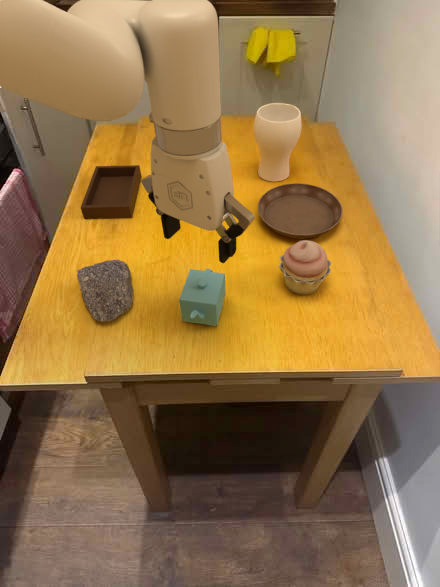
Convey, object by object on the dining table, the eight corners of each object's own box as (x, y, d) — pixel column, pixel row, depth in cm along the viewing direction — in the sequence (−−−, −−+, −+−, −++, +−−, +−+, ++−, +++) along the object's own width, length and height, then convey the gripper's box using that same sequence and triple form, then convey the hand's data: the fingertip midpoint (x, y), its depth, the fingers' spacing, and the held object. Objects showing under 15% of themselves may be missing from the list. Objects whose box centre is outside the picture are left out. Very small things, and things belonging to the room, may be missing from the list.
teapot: (212, 345, 67) (211, 317, 61) (177, 340, 67) (172, 311, 62) (227, 292, 74) (226, 262, 69) (194, 287, 75) (191, 258, 70)
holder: (132, 218, 90) (129, 206, 87) (84, 219, 90) (80, 207, 88) (141, 176, 101) (139, 165, 98) (99, 177, 101) (95, 166, 99)
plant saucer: (299, 257, 80) (301, 246, 78) (240, 215, 89) (240, 204, 87) (357, 221, 87) (360, 209, 85) (297, 185, 96) (298, 174, 94)
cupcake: (285, 259, 80) (291, 218, 72) (332, 273, 77) (343, 232, 69) (268, 292, 74) (272, 251, 67) (318, 308, 71) (328, 267, 64)
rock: (67, 271, 72) (118, 247, 75) (78, 289, 77) (126, 265, 79) (88, 318, 66) (144, 290, 68) (100, 335, 70) (151, 308, 73)
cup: (292, 160, 104) (299, 100, 93) (298, 184, 97) (307, 122, 85) (250, 162, 104) (252, 102, 93) (254, 186, 97) (256, 124, 85)
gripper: (109, 127, 47) (137, 239, 60) (235, 167, 41) (236, 284, 54) (151, 102, 51) (168, 212, 64) (271, 135, 45) (264, 251, 58)
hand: (199, 244), depth 59 cm, fingers open, 9 cm apart
